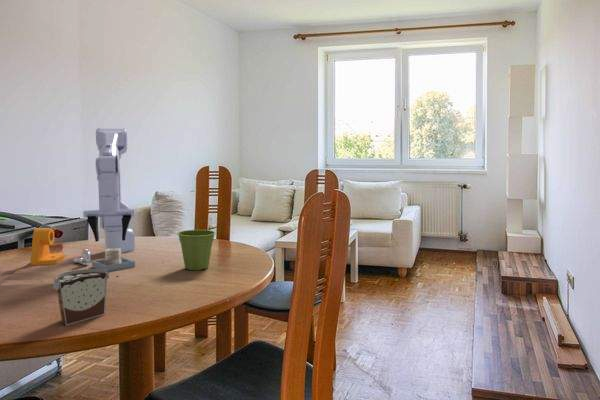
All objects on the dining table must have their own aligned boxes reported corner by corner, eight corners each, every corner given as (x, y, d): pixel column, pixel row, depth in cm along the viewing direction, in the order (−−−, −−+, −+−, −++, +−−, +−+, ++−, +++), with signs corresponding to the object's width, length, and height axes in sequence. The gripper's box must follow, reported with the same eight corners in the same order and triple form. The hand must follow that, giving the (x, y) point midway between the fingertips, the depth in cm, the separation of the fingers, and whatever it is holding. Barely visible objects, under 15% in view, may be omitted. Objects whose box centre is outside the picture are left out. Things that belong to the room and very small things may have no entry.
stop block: (105, 270, 158) (104, 251, 157) (108, 267, 161) (107, 248, 161) (119, 270, 158) (118, 250, 158) (121, 267, 162) (121, 248, 162)
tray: (121, 266, 166) (120, 256, 166) (135, 270, 160) (134, 261, 160) (92, 270, 160) (92, 261, 160) (106, 275, 154) (105, 265, 153)
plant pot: (183, 274, 156) (182, 236, 154) (173, 266, 166) (172, 231, 165) (221, 269, 161) (221, 233, 160) (209, 262, 171) (209, 228, 170)
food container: (94, 308, 122) (92, 265, 121) (110, 312, 119) (109, 269, 118) (43, 322, 112) (40, 276, 111) (59, 327, 109) (57, 280, 108)
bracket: (55, 268, 164) (53, 230, 163) (31, 269, 163) (29, 231, 162) (66, 261, 174) (65, 225, 173) (43, 261, 174) (42, 226, 172)
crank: (71, 261, 166) (70, 246, 166) (81, 260, 168) (80, 245, 168) (83, 266, 160) (83, 250, 159) (93, 264, 162) (92, 249, 161)
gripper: (80, 197, 152) (82, 243, 154) (132, 196, 155) (134, 241, 157) (85, 195, 159) (86, 239, 160) (135, 194, 162) (136, 237, 164)
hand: (110, 240), depth 159 cm, fingers open, 7 cm apart
